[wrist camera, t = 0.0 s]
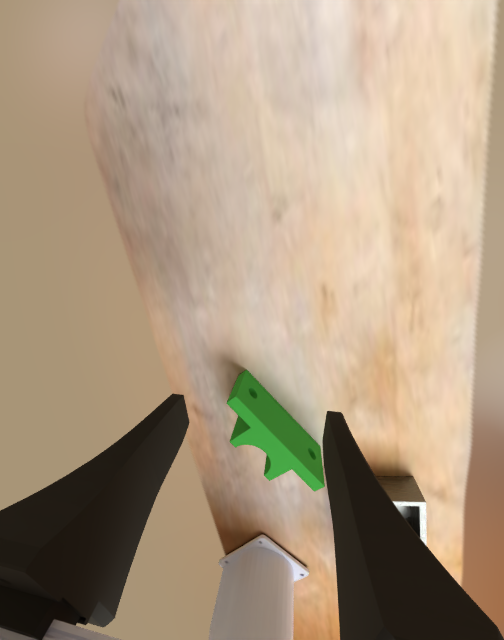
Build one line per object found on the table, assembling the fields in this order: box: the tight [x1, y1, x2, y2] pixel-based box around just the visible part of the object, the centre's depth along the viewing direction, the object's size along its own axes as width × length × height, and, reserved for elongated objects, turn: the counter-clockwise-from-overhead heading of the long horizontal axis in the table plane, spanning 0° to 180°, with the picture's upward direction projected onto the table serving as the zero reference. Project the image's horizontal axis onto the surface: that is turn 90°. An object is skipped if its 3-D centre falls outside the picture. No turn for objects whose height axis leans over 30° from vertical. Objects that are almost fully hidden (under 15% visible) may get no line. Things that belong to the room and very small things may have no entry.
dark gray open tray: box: [376, 477, 427, 546], centre depth 24 cm, size 7×7×2 cm
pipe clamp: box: [227, 370, 325, 491], centre depth 23 cm, size 11×4×5 cm, turn 43°
